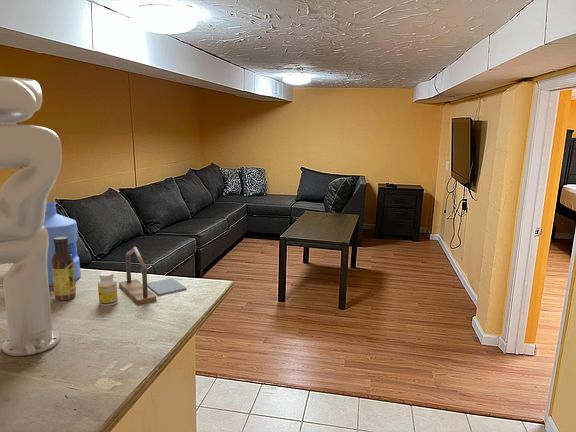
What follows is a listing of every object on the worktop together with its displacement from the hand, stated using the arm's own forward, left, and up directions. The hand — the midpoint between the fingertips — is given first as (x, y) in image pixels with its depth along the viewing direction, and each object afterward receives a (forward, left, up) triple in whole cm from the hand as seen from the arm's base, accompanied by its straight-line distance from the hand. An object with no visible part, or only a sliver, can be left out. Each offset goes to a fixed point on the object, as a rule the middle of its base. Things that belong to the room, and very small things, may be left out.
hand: (7, 188), depth 120 cm
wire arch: (-5, -33, -37) cm, 50 cm away
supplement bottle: (-8, -23, -37) cm, 44 cm away
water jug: (+24, -14, -37) cm, 46 cm away
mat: (-5, -43, -37) cm, 57 cm away
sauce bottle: (+4, -13, -37) cm, 39 cm away
